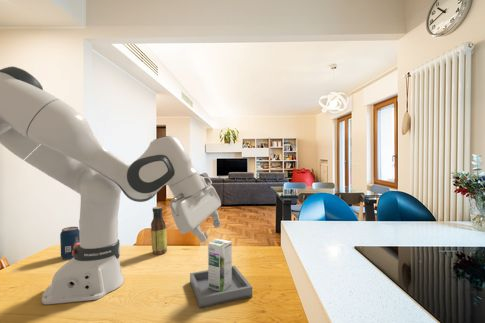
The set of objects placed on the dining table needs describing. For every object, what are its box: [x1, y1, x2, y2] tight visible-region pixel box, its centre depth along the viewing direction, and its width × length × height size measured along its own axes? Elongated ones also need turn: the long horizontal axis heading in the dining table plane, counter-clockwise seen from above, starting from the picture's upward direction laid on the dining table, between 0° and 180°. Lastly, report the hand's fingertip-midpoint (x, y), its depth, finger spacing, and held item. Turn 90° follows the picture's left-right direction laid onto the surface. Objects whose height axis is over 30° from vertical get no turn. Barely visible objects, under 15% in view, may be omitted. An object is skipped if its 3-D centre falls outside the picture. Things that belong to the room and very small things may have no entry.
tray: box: [189, 265, 253, 309], centre depth 83 cm, size 16×16×3 cm
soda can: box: [59, 226, 80, 260], centre depth 109 cm, size 7×7×12 cm
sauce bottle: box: [150, 206, 168, 255], centre depth 113 cm, size 7×6×20 cm
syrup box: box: [207, 238, 233, 292], centre depth 83 cm, size 6×6×14 cm
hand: (212, 233), depth 72 cm, fingers open, 8 cm apart
